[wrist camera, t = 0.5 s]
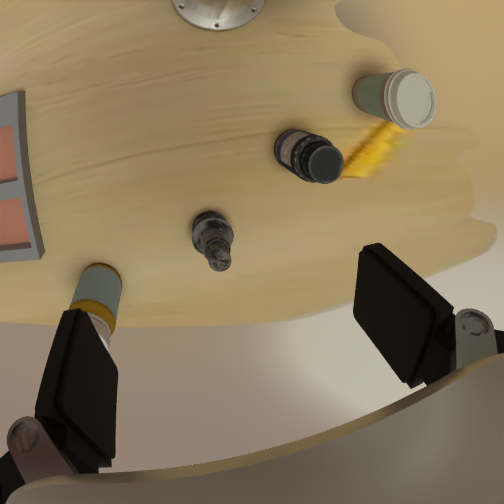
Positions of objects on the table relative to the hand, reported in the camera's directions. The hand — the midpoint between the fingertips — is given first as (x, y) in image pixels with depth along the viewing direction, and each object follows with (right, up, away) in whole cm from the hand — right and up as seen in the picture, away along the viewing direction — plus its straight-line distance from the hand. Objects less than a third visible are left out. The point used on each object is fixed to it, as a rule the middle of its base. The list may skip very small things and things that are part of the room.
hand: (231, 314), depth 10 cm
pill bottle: (+7, +17, +34) cm, 38 cm away
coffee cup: (+19, +27, +32) cm, 46 cm away
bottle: (-23, -3, +36) cm, 43 cm away
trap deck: (-40, +13, +23) cm, 48 cm away
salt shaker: (-6, +6, +37) cm, 38 cm away
